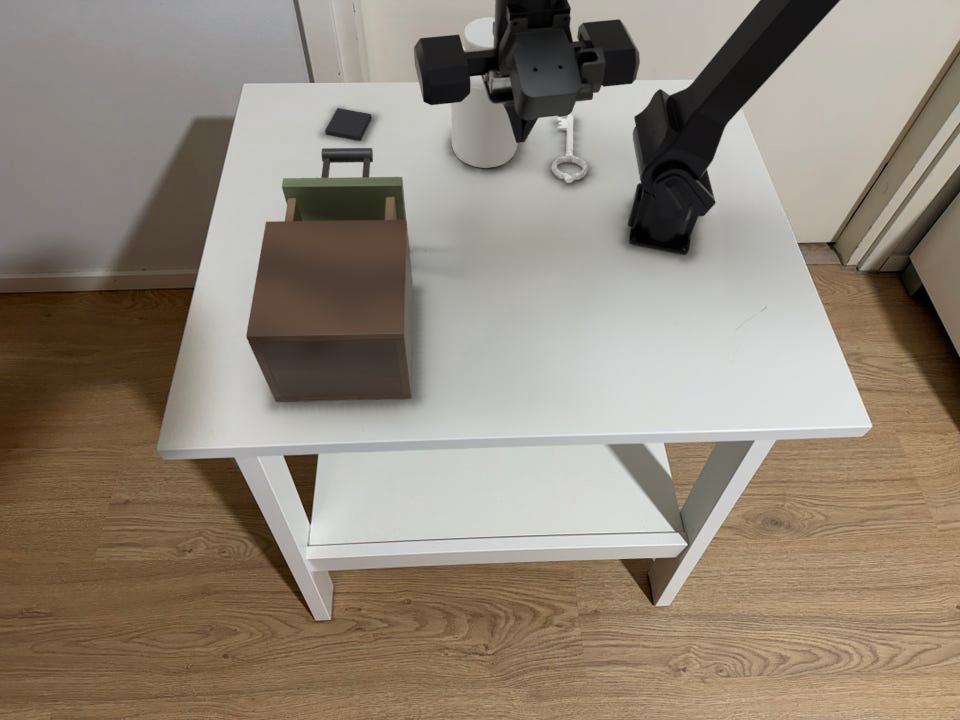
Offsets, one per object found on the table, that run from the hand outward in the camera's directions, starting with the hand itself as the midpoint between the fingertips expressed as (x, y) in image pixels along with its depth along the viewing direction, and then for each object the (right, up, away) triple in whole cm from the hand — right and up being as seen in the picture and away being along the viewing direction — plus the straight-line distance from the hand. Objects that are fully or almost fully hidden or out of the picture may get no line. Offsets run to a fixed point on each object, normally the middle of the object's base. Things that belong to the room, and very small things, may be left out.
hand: (519, 140), depth 68 cm
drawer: (-17, -11, +6) cm, 21 cm away
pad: (-20, +8, +19) cm, 28 cm away
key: (+7, +4, +17) cm, 19 cm away
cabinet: (-17, -20, +1) cm, 26 cm away
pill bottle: (-3, +4, +17) cm, 18 cm away
